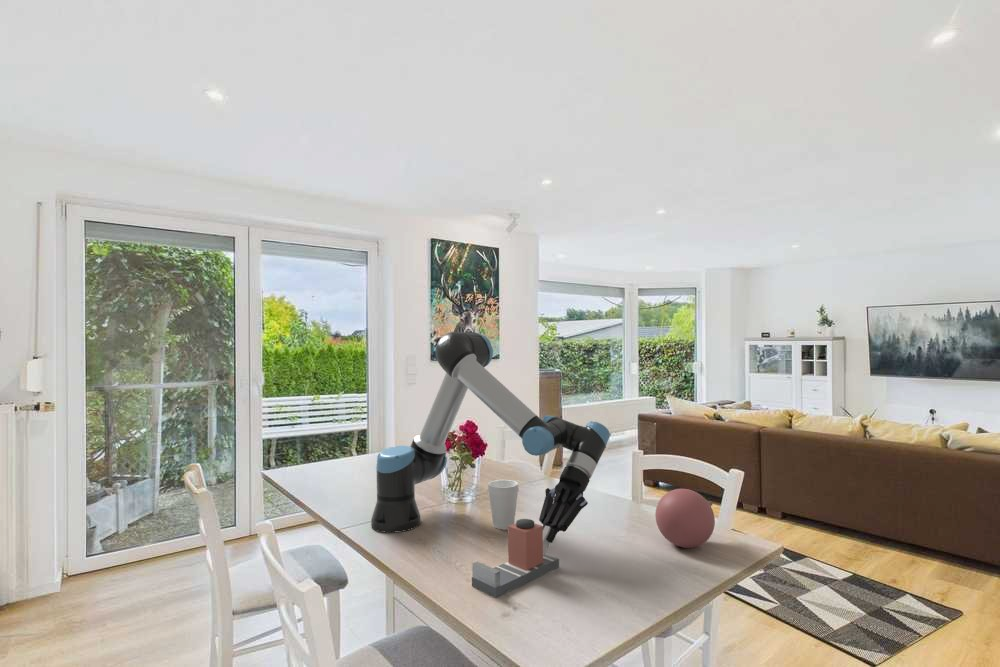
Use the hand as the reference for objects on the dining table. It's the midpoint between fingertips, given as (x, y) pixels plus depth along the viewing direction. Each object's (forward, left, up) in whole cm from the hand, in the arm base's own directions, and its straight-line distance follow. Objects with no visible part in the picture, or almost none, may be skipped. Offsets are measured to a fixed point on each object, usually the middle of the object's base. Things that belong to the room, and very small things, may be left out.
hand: (538, 552), depth 131 cm
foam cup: (-1, +32, -4) cm, 32 cm away
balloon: (+45, +3, -4) cm, 46 cm away
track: (-7, -3, -4) cm, 8 cm away
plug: (-4, -2, -2) cm, 5 cm away
